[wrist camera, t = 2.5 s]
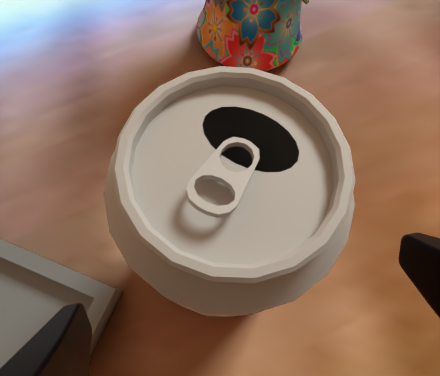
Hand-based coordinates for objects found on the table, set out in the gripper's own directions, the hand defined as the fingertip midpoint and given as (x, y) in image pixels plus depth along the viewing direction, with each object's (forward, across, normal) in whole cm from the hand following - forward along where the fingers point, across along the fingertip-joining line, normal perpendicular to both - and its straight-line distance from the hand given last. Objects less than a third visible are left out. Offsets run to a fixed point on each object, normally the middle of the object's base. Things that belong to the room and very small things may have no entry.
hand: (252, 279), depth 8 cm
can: (+9, 0, +5) cm, 11 cm away
